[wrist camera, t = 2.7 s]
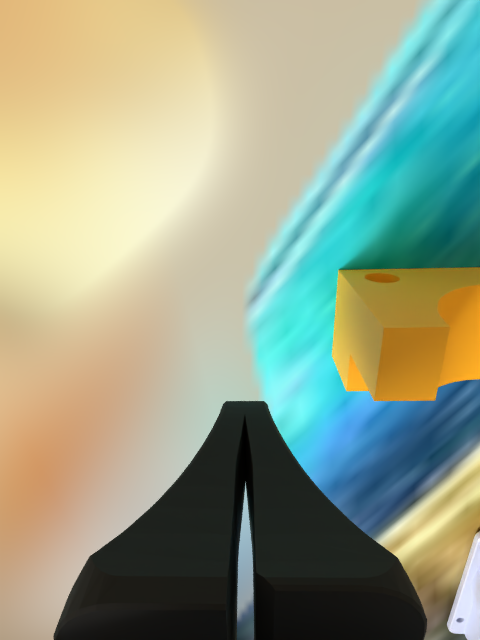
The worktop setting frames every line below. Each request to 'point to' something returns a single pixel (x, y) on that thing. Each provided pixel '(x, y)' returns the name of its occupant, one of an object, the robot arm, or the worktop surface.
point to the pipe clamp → (407, 330)
